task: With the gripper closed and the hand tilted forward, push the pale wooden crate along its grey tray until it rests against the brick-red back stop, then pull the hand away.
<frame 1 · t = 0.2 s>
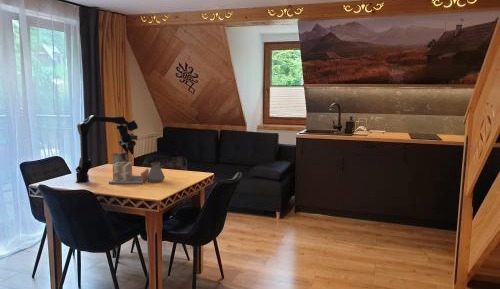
hand: (130, 153, 272), 16 cm above the table, tool pointing down, fingers open, 9 cm apart
grey tray: (129, 181, 255), on the table
crate: (122, 171, 254), point 7 cm above the table, slide at 0.0 cm
coffee pot: (161, 183, 251), on the table
coffee box: (121, 175, 274), on the table, touching gripper
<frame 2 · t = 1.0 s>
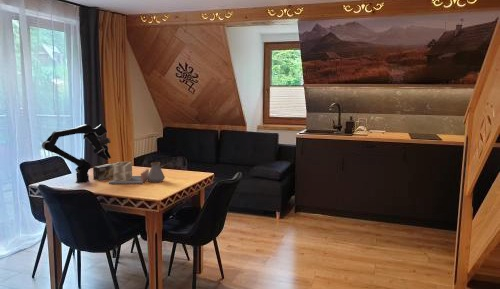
hand: (109, 158, 256), 15 cm above the table, tool tilted 35°, fingers open, 9 cm apart
coffee box: (116, 169, 270), point 4 cm above the table
everything else where it was.
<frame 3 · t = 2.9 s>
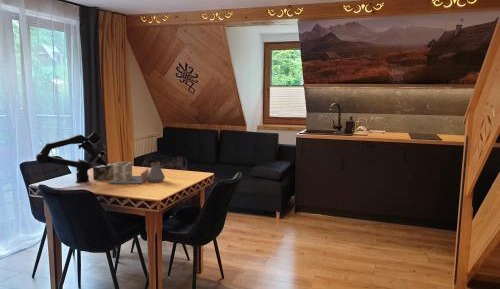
hand: (107, 165, 253), 11 cm above the table, tool tilted 45°, fingers closed
nothing on the table moved.
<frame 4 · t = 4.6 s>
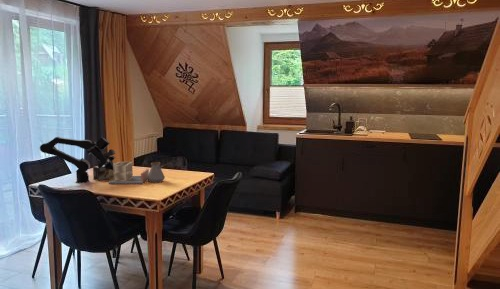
hand: (116, 170, 254), 7 cm above the table, tool tilted 45°, fingers closed, pressing on crate
crate: (123, 171, 254), point 7 cm above the table, slide at 0.3 cm, touching gripper
everything else where it was.
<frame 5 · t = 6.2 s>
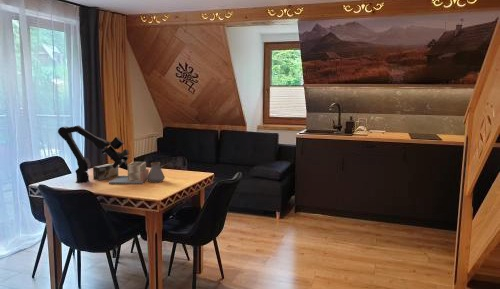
hand: (130, 170, 254), 7 cm above the table, tool tilted 45°, fingers closed, pressing on crate
crate: (137, 171, 254), point 7 cm above the table, slide at 9.7 cm, touching gripper
everything else where it was.
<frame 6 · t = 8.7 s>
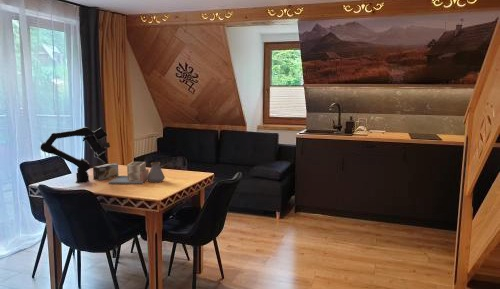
hand: (107, 163, 254), 12 cm above the table, tool tilted 30°, fingers closed
crate: (136, 171, 254), point 7 cm above the table, slide at 9.5 cm
everything else where it was.
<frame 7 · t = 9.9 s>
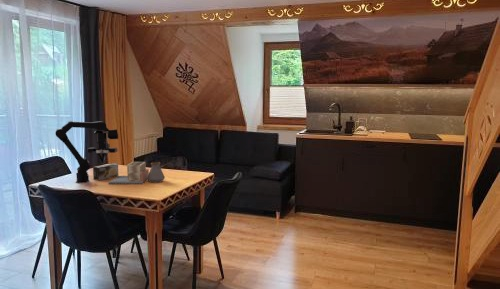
hand: (103, 162, 257), 12 cm above the table, tool pointing down, fingers closed
nothing on the table moved.
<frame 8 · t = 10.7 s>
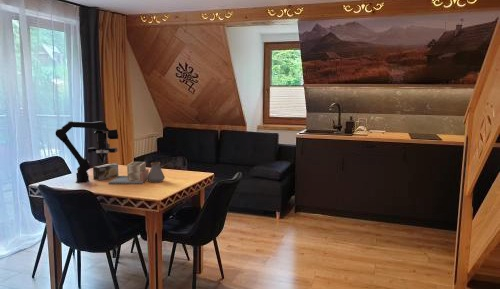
hand: (103, 162, 257), 12 cm above the table, tool pointing down, fingers closed
nothing on the table moved.
at the end: crate slide at 9.5 cm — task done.
